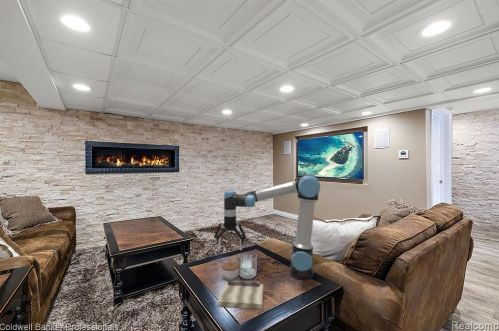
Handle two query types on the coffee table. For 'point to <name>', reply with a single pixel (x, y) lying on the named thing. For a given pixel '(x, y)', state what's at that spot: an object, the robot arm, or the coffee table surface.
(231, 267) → the lidded jar
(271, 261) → the coffee table surface
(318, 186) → the robot arm
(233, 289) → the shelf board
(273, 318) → the coffee table surface
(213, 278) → the coffee table surface
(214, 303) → the coffee table surface
